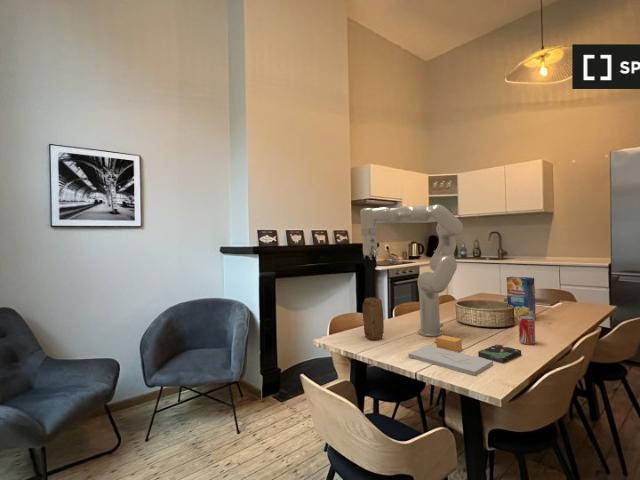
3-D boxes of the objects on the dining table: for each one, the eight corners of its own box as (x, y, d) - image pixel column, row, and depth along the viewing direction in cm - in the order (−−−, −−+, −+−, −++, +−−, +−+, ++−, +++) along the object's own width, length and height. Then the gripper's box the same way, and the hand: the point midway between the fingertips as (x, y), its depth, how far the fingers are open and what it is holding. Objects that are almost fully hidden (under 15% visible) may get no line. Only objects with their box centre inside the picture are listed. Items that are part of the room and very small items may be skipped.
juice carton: (535, 319, 195) (534, 277, 195) (528, 321, 192) (527, 279, 192) (514, 315, 206) (513, 276, 206) (507, 317, 202) (506, 277, 202)
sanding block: (442, 346, 156) (442, 335, 156) (462, 350, 149) (461, 339, 149) (436, 348, 152) (436, 337, 152) (455, 353, 146) (455, 341, 146)
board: (428, 348, 153) (428, 345, 153) (492, 364, 131) (492, 360, 131) (408, 357, 143) (408, 353, 143) (474, 376, 122) (474, 371, 122)
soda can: (530, 346, 151) (529, 319, 151) (516, 342, 156) (515, 316, 156) (538, 343, 154) (537, 317, 154) (524, 340, 159) (523, 314, 159)
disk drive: (496, 350, 149) (477, 357, 140) (496, 344, 149) (477, 351, 140) (521, 356, 140) (503, 364, 132) (521, 349, 140) (503, 357, 132)
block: (385, 339, 169) (383, 299, 169) (372, 341, 166) (370, 300, 166) (374, 334, 179) (373, 295, 179) (361, 335, 176) (360, 297, 176)
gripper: (381, 232, 163) (383, 268, 163) (370, 233, 180) (371, 265, 180) (366, 232, 161) (368, 268, 162) (356, 233, 179) (358, 266, 179)
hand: (370, 267), depth 171 cm, fingers open, 9 cm apart
